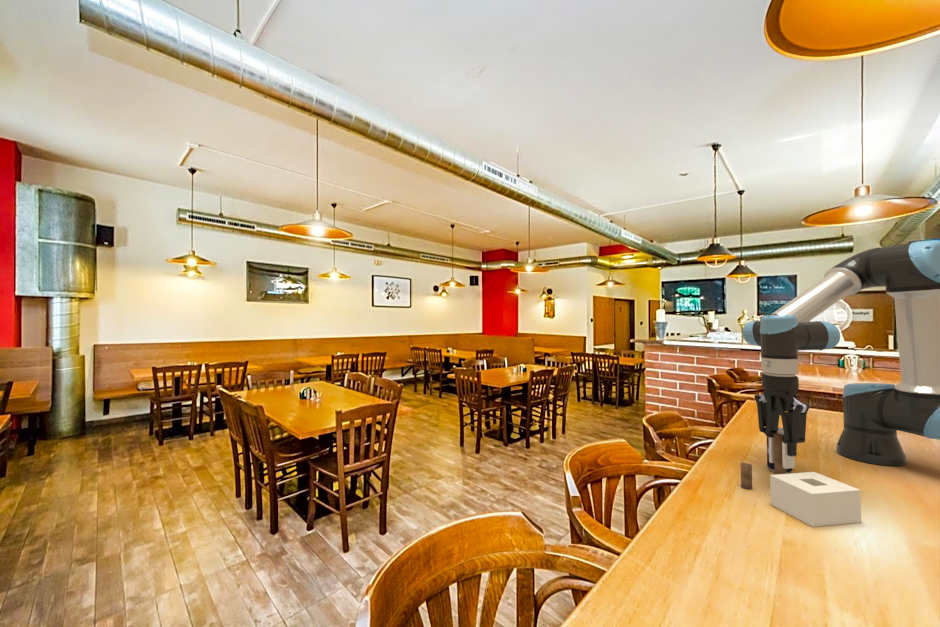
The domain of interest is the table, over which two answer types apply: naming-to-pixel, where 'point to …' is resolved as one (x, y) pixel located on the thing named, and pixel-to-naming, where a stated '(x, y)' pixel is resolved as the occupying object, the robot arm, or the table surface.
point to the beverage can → (772, 465)
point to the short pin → (746, 476)
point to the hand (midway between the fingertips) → (781, 464)
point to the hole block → (815, 498)
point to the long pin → (778, 453)
